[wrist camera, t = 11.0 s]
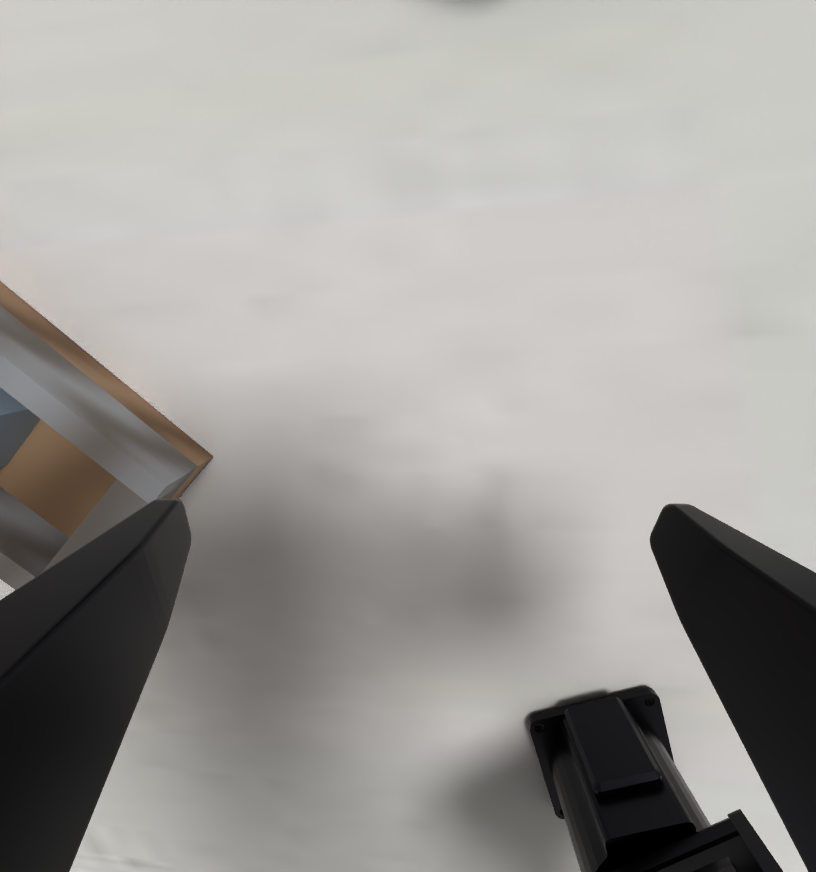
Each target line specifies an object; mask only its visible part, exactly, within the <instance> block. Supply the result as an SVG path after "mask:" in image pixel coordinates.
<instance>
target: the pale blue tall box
mask: <svg viewBox="0 0 816 872" xmlns="http://www.w3.org/2000/svg"><path fill="white" fill-rule="evenodd" d="M40 420H41V419H40V418H39V417H38V416H36V415H35V414H34V413H32V412H31V411H30V410H29V409H27V408H26V407H25V406H24V405H22V404H21V403H20V402H18V401H17V400H16V399H15V398H13V397H12V396H11V395H10V394H8V393H7V392H6V391H4V390H3V389H2V388H1V387H0V467H3V466H6V465H8V463H9V462H10V461H11V459H12V458H13V457H14V455H15V454H16V452H17V451H18V450H19V448H20V447H21V446H22V444H23V443H24V441H25V440H26V439H27V437H28V436H29V435H30V433H31V432H32V431H33V429H34V428H35V426H36V425H37V424H38V422H39V421H40Z"/></svg>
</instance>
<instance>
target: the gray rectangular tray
mask: <svg viewBox="0 0 816 872" xmlns="http://www.w3.org/2000/svg"><path fill="white" fill-rule="evenodd" d="M0 387H1V388H2V389H3V390H4V391H6V392H7V393H8V394H10V395H11V396H12V397H13V398H15V399H16V400H17V401H18V402H20V403H21V404H22V405H24V406H25V407H26V408H27V409H29V410H30V411H31V412H32V413H34V414H35V415H36V416H38V417H39V418H40V419H41V420H40V421H39V422H38V424H37V425H36V426H35V428H34V429H33V431H32V432H31V433H30V435H29V436H28V437H27V439H26V440H25V441H24V443H23V444H22V446H21V447H20V448H19V450H18V451H17V452H16V454H15V455H14V457H13V458H12V459H11V461H10V462H9V463H8V465H6V466H3V467H0V579H1V580H3V581H4V582H6V583H7V584H8V585H10V586H11V587H13V588H14V589H15V590H17V589H18V588H20V587H22V586H23V585H25V584H26V583H28V582H29V581H31V580H32V579H34V578H35V577H37V576H38V575H40V574H41V573H43V572H44V571H46V570H48V569H49V568H51V567H52V566H54V565H55V564H57V563H58V562H60V561H61V560H63V559H64V558H66V557H67V556H69V555H70V554H72V553H74V552H75V551H77V550H78V549H80V548H81V547H83V546H84V545H86V544H87V543H89V542H90V541H92V540H93V539H95V538H96V537H98V536H99V535H101V534H103V533H104V532H106V531H107V530H109V529H110V528H112V527H113V526H115V525H116V524H118V523H119V522H121V521H122V520H124V519H125V518H127V517H129V516H130V515H132V514H133V513H135V512H136V511H138V510H139V509H141V508H142V507H144V506H145V505H147V504H148V503H150V502H151V501H153V500H155V499H178V498H179V496H180V495H181V494H182V493H183V492H184V491H185V489H186V488H187V487H188V486H189V485H190V484H191V482H192V481H193V480H194V479H195V478H196V476H197V475H198V474H199V473H200V472H201V471H202V469H203V468H204V467H205V466H206V465H207V464H208V462H209V461H210V460H211V459H212V458H213V456H212V455H211V454H209V453H208V452H207V451H206V450H205V449H203V448H202V447H201V446H200V445H199V444H197V443H196V442H195V441H194V440H192V439H191V438H190V437H189V436H188V435H186V434H185V433H184V432H183V431H182V430H180V429H179V428H178V427H177V426H175V425H174V424H173V423H172V422H171V421H169V420H168V419H167V418H166V417H165V416H163V415H162V414H161V413H160V412H158V411H157V410H156V409H155V408H154V407H152V406H151V405H150V404H149V403H147V402H146V401H145V400H144V399H143V398H141V397H140V396H139V395H138V394H137V393H135V392H134V391H133V390H132V389H130V388H129V387H128V386H127V385H126V384H124V383H123V382H122V381H121V380H120V379H118V378H117V377H116V376H115V375H113V374H112V373H111V372H110V371H109V370H107V369H106V368H105V367H104V366H103V365H101V364H100V363H99V362H98V361H96V360H95V359H94V358H93V357H92V356H90V355H89V354H88V353H87V352H85V351H84V350H83V349H82V348H81V347H79V346H78V345H77V344H76V343H75V342H73V341H72V340H71V339H70V338H68V337H67V336H66V335H65V334H64V333H62V332H61V331H60V330H59V329H58V328H56V327H55V326H54V325H53V324H51V323H50V322H49V321H48V320H47V319H45V318H44V317H43V316H42V315H41V314H39V313H38V312H37V311H36V310H34V309H33V308H32V307H31V306H30V305H28V304H27V303H26V302H25V301H24V300H22V299H21V298H20V297H19V296H17V295H16V294H15V293H14V292H13V291H11V290H10V289H9V288H8V287H6V286H5V285H4V284H3V283H2V282H0Z"/></svg>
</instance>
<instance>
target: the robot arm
mask: <svg viewBox="0 0 816 872" xmlns="http://www.w3.org/2000/svg"><path fill="white" fill-rule="evenodd" d="M190 545H191V532H190V528H189V524H188V520H187V516H186V511H185V507H184V504H183V502H182V501H181V500H179V499H155V500H153V501H151V502H150V503H148V504H147V505H145V506H144V507H142V508H141V509H139V510H138V511H136V512H135V513H133V514H132V515H130V516H129V517H127V518H125V519H124V520H122V521H121V522H119V523H118V524H116V525H115V526H113V527H112V528H110V529H109V530H107V531H106V532H104V533H103V534H101V535H99V536H98V537H96V538H95V539H93V540H92V541H90V542H89V543H87V544H86V545H84V546H83V547H81V548H80V549H78V550H77V551H75V552H74V553H72V554H70V555H69V556H67V557H66V558H64V559H63V560H61V561H60V562H58V563H57V564H55V565H54V566H52V567H51V568H49V569H48V570H46V571H44V572H43V573H41V574H40V575H38V576H37V577H35V578H34V579H32V580H31V581H29V582H28V583H26V584H25V585H23V586H22V587H20V588H18V589H17V590H15V591H14V592H12V593H11V594H9V595H8V596H6V597H5V598H3V599H2V600H0V872H69V871H70V869H71V866H72V864H73V861H74V859H75V856H76V854H77V851H78V849H79V846H80V844H81V841H82V839H83V837H84V834H85V832H86V829H87V827H88V824H89V822H90V819H91V817H92V814H93V812H94V809H95V807H96V804H97V802H98V799H99V797H100V794H101V792H102V789H103V787H104V784H105V782H106V779H107V777H108V775H109V772H110V770H111V767H112V765H113V762H114V760H115V757H116V755H117V752H118V750H119V747H120V745H121V742H122V740H123V737H124V735H125V732H126V730H127V727H128V725H129V722H130V720H131V717H132V715H133V712H134V710H135V708H136V705H137V703H138V700H139V698H140V695H141V693H142V690H143V688H144V685H145V683H146V680H147V678H148V675H149V673H150V670H151V668H152V665H153V663H154V660H155V658H156V655H157V653H158V650H159V648H160V645H161V643H162V641H163V638H164V635H165V633H166V630H167V627H168V624H169V621H170V617H171V614H172V611H173V607H174V603H175V600H176V596H177V593H178V589H179V585H180V582H181V578H182V574H183V571H184V567H185V564H186V560H187V556H188V553H189V549H190ZM650 545H651V549H652V551H653V554H654V556H655V559H656V561H657V564H658V567H659V569H660V572H661V574H662V577H663V579H664V582H665V584H666V587H667V589H668V592H669V595H670V597H671V600H672V602H673V605H674V607H675V610H676V612H677V614H678V617H679V619H680V621H681V623H682V625H683V627H684V629H685V631H686V633H687V635H688V637H689V639H690V641H691V643H692V645H693V647H694V649H695V651H696V653H697V655H698V657H699V659H700V661H701V663H702V665H703V667H704V669H705V671H706V672H707V674H708V676H709V678H710V680H711V682H712V684H713V686H714V688H715V690H716V692H717V694H718V696H719V698H720V700H721V702H722V704H723V706H724V708H725V710H726V712H727V714H728V715H729V717H730V719H731V721H732V723H733V725H734V727H735V729H736V731H737V733H738V735H739V737H740V739H741V741H742V743H743V745H744V747H745V749H746V751H747V753H748V755H749V757H750V758H751V760H752V762H753V764H754V766H755V768H756V770H757V772H758V774H759V776H760V778H761V780H762V782H763V784H764V786H765V788H766V790H767V792H768V794H769V796H770V798H771V800H772V801H773V803H774V805H775V807H776V809H777V811H778V813H779V815H780V817H781V819H782V821H783V823H784V825H785V827H786V829H787V831H788V833H789V835H790V837H791V839H792V841H793V842H794V844H795V846H796V848H797V850H798V852H799V854H800V856H801V858H802V860H803V862H804V864H805V866H806V868H807V870H808V872H816V573H815V572H813V571H811V570H810V569H808V568H806V567H804V566H802V565H800V564H799V563H797V562H795V561H793V560H791V559H789V558H788V557H786V556H784V555H782V554H780V553H778V552H776V551H775V550H773V549H771V548H769V547H767V546H765V545H764V544H762V543H760V542H758V541H756V540H754V539H753V538H751V537H749V536H747V535H745V534H743V533H742V532H740V531H738V530H736V529H734V528H732V527H731V526H729V525H727V524H725V523H723V522H721V521H719V520H718V519H716V518H714V517H712V516H710V515H708V514H707V513H705V512H703V511H701V510H699V509H697V508H696V507H694V506H692V505H689V504H668V505H666V506H665V507H664V508H663V509H662V511H661V513H660V515H659V517H658V520H657V522H656V524H655V526H654V528H653V530H652V533H651V536H650ZM647 698H649V699H647ZM646 699H647V700H646ZM538 724H541V725H540V726H536V725H538ZM528 725H529V729H530V732H531V736H532V739H533V742H534V745H535V749H536V752H537V755H538V758H539V762H540V765H541V768H542V772H543V775H544V778H545V781H546V785H547V788H548V791H549V794H550V798H551V801H552V804H553V807H554V811H555V814H556V815H557V817H559V818H561V819H565V820H566V824H567V827H568V830H569V834H570V837H571V840H572V844H573V847H574V850H575V853H576V857H577V860H578V863H579V867H580V870H581V872H783V871H782V869H781V868H780V866H779V865H778V863H777V862H776V861H775V859H774V858H773V856H772V855H771V853H770V852H769V850H768V849H767V847H766V846H765V845H764V843H763V842H762V840H761V839H760V837H759V836H758V834H757V833H756V831H755V830H754V829H753V827H752V826H751V824H750V823H749V821H748V820H747V818H746V817H745V815H744V814H743V813H742V811H741V810H740V809H739V810H736V811H734V812H732V813H730V814H728V817H729V818H727V819H724V820H722V821H720V822H718V823H715V824H713V825H710V823H709V822H708V820H707V818H706V816H705V815H704V813H703V811H702V810H701V808H700V806H699V805H698V803H697V801H696V800H695V798H694V796H693V795H692V793H691V791H690V789H689V788H688V786H687V784H686V783H685V781H684V779H683V778H682V776H681V774H680V773H679V771H678V769H677V768H676V766H675V764H674V760H673V756H672V752H671V747H670V743H669V738H668V734H667V730H666V725H665V721H664V716H663V712H662V708H661V703H660V699H659V697H658V696H657V694H656V693H655V691H654V690H653V689H652V688H649V687H645V688H640V689H636V690H632V691H627V692H623V693H619V694H615V695H611V696H607V697H603V698H599V699H594V700H590V701H586V702H582V703H578V704H574V705H570V706H566V707H561V708H557V709H553V710H549V711H545V712H541V713H537V714H534V715H532V716H531V717H530V718H529V719H528Z"/></svg>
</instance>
